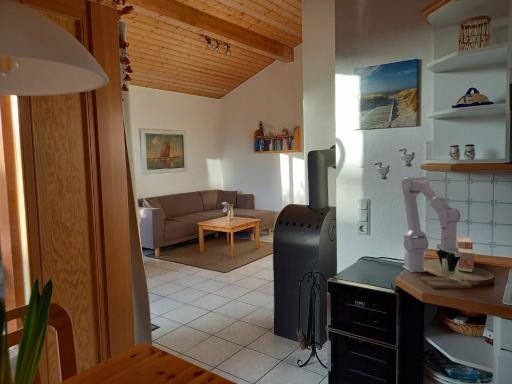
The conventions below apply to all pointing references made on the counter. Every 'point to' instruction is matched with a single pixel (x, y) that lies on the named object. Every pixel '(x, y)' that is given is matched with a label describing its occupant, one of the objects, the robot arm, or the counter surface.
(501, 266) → the counter surface
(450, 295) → the counter surface
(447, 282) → the board
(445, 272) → the cylinder
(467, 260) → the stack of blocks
